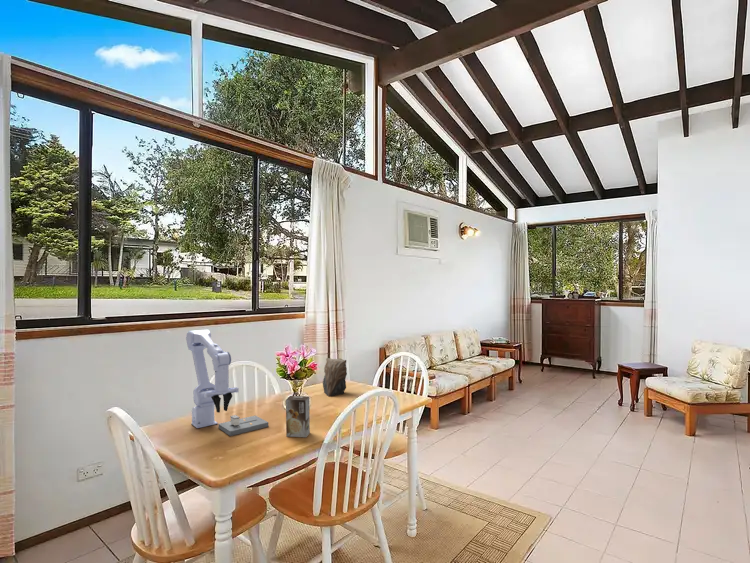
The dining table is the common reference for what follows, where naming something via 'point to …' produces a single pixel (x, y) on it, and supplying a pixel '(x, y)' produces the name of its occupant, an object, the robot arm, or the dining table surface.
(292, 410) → the coffee box
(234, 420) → the fader tab
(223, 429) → the console
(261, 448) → the dining table surface
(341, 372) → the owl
